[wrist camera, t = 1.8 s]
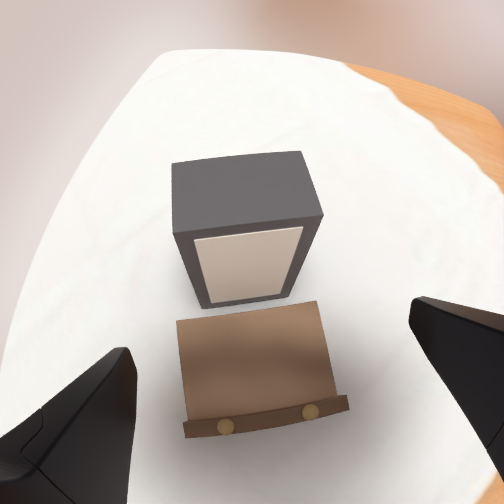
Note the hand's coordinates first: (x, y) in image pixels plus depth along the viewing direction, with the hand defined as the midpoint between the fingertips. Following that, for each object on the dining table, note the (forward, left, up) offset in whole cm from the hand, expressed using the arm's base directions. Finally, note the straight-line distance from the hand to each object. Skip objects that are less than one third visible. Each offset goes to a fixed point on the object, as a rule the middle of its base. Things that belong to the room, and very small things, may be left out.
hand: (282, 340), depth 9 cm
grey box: (+3, -7, -13) cm, 15 cm away
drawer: (0, 0, -13) cm, 13 cm away
